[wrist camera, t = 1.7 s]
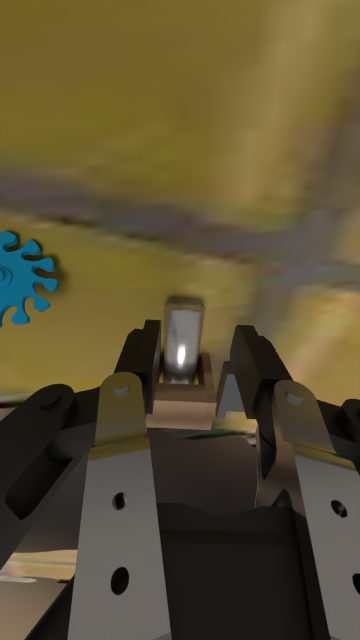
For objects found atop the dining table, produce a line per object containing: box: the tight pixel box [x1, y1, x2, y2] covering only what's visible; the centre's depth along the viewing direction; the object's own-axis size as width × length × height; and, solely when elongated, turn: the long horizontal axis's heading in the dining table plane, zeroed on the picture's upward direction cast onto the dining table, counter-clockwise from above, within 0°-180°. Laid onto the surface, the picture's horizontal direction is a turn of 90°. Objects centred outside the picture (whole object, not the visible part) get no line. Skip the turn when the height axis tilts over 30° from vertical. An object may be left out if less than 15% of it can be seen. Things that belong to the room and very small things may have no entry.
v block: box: [215, 362, 245, 419], centre depth 33 cm, size 10×8×2 cm
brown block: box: [146, 353, 217, 430], centre depth 28 cm, size 5×8×8 cm, turn 87°
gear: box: [0, 231, 59, 328], centre depth 23 cm, size 11×6×10 cm
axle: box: [163, 297, 205, 384], centre depth 29 cm, size 18×4×4 cm, turn 177°
